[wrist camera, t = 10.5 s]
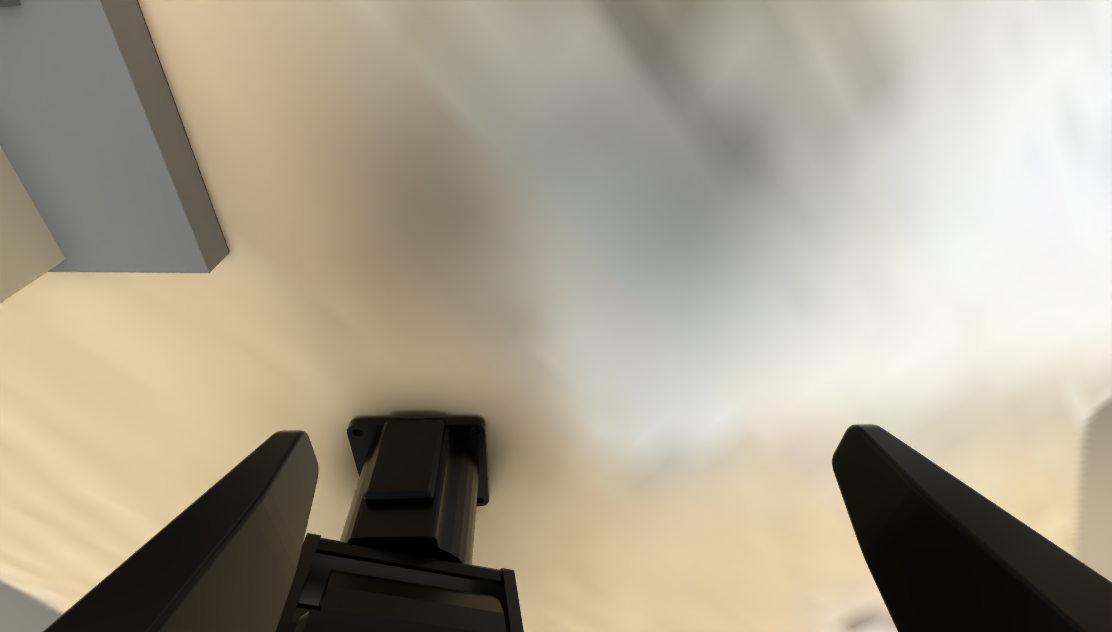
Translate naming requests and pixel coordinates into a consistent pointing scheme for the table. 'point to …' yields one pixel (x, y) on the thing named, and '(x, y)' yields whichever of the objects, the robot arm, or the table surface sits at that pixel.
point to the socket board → (93, 149)
